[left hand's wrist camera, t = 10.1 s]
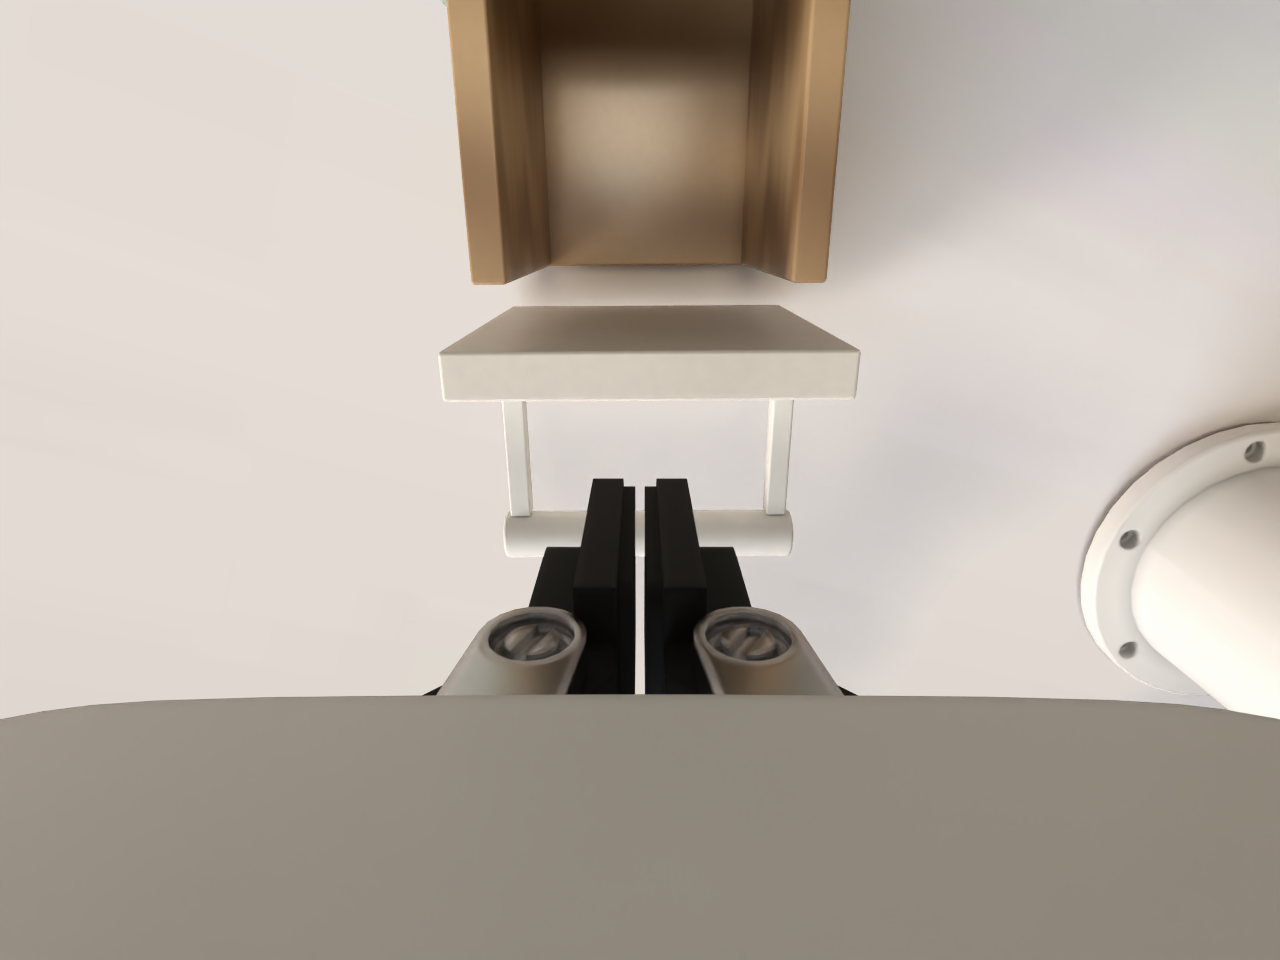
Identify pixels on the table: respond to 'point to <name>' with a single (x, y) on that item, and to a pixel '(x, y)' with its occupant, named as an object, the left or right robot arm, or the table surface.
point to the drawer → (648, 217)
